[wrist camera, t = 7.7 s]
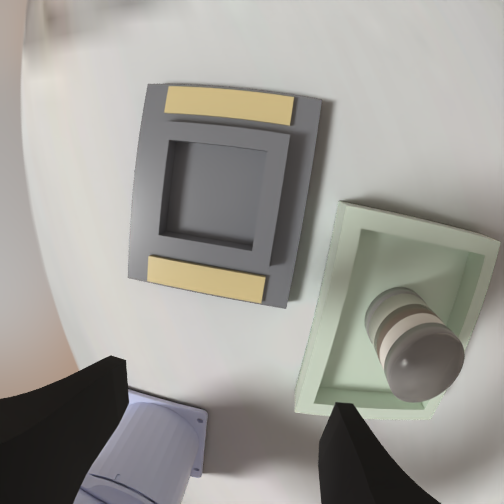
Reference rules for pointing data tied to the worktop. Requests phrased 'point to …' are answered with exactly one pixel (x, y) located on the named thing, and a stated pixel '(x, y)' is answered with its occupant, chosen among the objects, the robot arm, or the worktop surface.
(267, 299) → the fuse holder
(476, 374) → the worktop surface
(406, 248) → the parts tray
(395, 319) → the cylinder
